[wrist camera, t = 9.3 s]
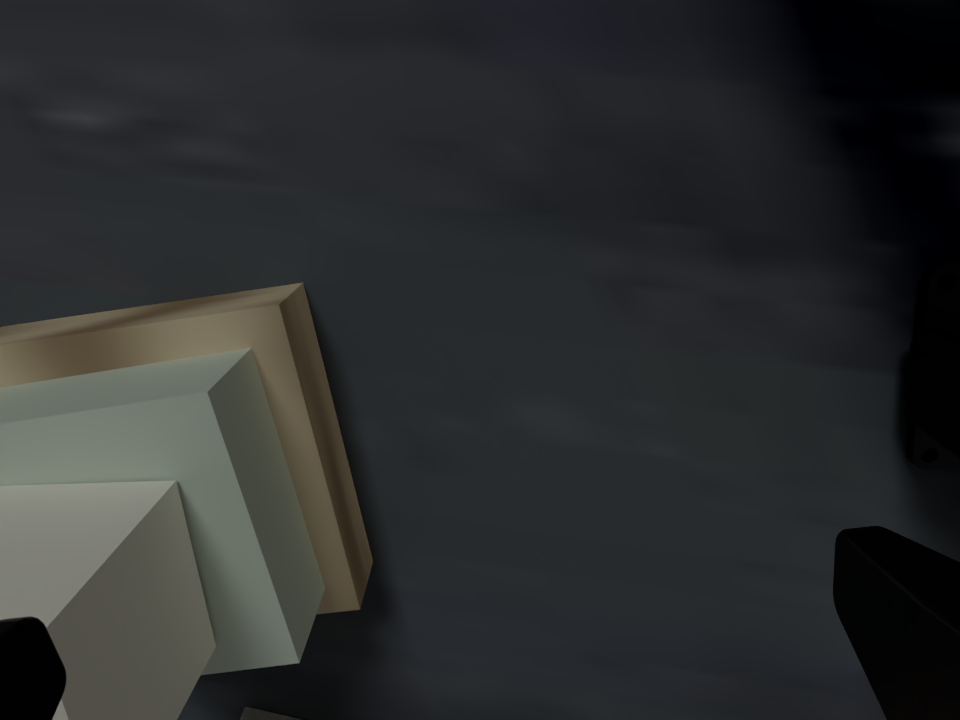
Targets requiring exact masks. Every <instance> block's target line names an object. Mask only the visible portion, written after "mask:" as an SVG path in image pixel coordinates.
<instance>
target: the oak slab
mask: <svg viewBox="0 0 960 720" xmlns="http://www.w3.org/2000/svg"><path fill="white" fill-rule="evenodd" d="M247 348H252V351H253V355H254V358H255V361H256V364H257V368H258V371H259V374H260V377H261V381H262V384H263V387H264V390H265V394H266V397H267V400H268V403H269V407H270V410H271V413H272V416H273V420H274V423H275V426H276V430H277V433H278V436H279V439H280V443H281V446H282V449H283V452H284V456H285V459H286V462H287V465H288V469H289V472H290V475H291V478H292V482H293V485H294V488H295V491H296V495H297V498H298V501H299V504H300V508H301V511H302V514H303V518H304V521H305V524H306V527H307V531H308V534H309V537H310V540H311V544H312V547H313V550H314V553H315V557H316V560H317V563H318V566H319V570H320V573H321V576H322V579H323V583H324V586H325V590H324V593H323V596H322V599H321V602H320V605H319V608H318V611H317V614H325V613H334V612H343V611H352V610H360V608H361V605H362V601H363V597H364V594H365V590H366V586H367V582H368V579H369V575H370V571H371V567H372V564H373V559H372V555H371V551H370V547H369V543H368V539H367V535H366V531H365V527H364V523H363V519H362V515H361V511H360V507H359V503H358V499H357V495H356V491H355V487H354V483H353V479H352V475H351V471H350V467H349V463H348V459H347V455H346V451H345V447H344V443H343V439H342V436H341V432H340V428H339V424H338V420H337V416H336V412H335V408H334V404H333V400H332V396H331V392H330V388H329V384H328V380H327V376H326V372H325V368H324V364H323V360H322V356H321V352H320V348H319V344H318V340H317V336H316V332H315V328H314V324H313V320H312V316H311V312H310V308H309V304H308V300H307V296H306V292H305V288H304V284H303V283H298V284H291V285H284V286H277V287H270V288H264V289H257V290H250V291H243V292H236V293H229V294H223V295H216V296H209V297H202V298H195V299H188V300H181V301H175V302H168V303H161V304H154V305H147V306H140V307H134V308H127V309H120V310H113V311H106V312H99V313H93V314H86V315H79V316H72V317H65V318H58V319H51V320H45V321H38V322H31V323H24V324H17V325H10V326H4V327H0V388H1V387H7V386H13V385H20V384H26V383H32V382H38V381H45V380H51V379H57V378H63V377H70V376H76V375H82V374H89V373H95V372H101V371H107V370H114V369H120V368H126V367H133V366H139V365H145V364H152V363H158V362H164V361H171V360H177V359H183V358H190V357H196V356H203V355H209V354H215V353H222V352H228V351H234V350H241V349H247Z"/></svg>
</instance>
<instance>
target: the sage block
mask: <svg viewBox="0 0 960 720" xmlns="http://www.w3.org/2000/svg"><path fill="white" fill-rule="evenodd" d="M142 481H176V482H177V486H178V490H179V494H180V499H181V503H182V507H183V511H184V515H185V519H186V524H187V528H188V532H189V536H190V540H191V544H192V548H193V553H194V557H195V561H196V565H197V569H198V573H199V578H200V582H201V586H202V590H203V594H204V598H205V602H206V607H207V611H208V615H209V619H210V623H211V627H212V631H213V636H214V640H215V644H216V647H215V649H214V651H213V653H212V655H211V657H210V659H209V661H208V662H207V664H206V666H205V668H204V670H203V672H202V674H201V675H207V674H215V673H223V672H231V671H239V670H247V669H256V668H264V667H272V666H280V665H288V664H296V663H300V660H301V657H302V654H303V652H304V649H305V646H306V643H307V640H308V637H309V634H310V631H311V628H312V625H313V622H314V620H315V617H316V614H317V611H318V608H319V605H320V602H321V599H322V596H323V593H324V590H325V586H324V583H323V579H322V576H321V573H320V570H319V566H318V563H317V560H316V557H315V553H314V550H313V547H312V544H311V540H310V537H309V534H308V531H307V527H306V524H305V521H304V518H303V514H302V511H301V508H300V504H299V501H298V498H297V495H296V491H295V488H294V485H293V482H292V478H291V475H290V472H289V469H288V465H287V462H286V459H285V456H284V452H283V449H282V446H281V443H280V439H279V436H278V433H277V430H276V426H275V423H274V420H273V416H272V413H271V410H270V407H269V403H268V400H267V397H266V394H265V390H264V387H263V384H262V381H261V377H260V374H259V371H258V368H257V364H256V361H255V358H254V355H253V351H252V348H247V349H241V350H234V351H228V352H222V353H215V354H209V355H203V356H196V357H190V358H183V359H177V360H171V361H164V362H158V363H152V364H145V365H139V366H133V367H126V368H120V369H114V370H107V371H101V372H95V373H89V374H82V375H76V376H70V377H63V378H57V379H51V380H45V381H38V382H32V383H26V384H20V385H13V386H7V387H1V388H0V486H9V485H42V484H76V483H109V482H142Z"/></svg>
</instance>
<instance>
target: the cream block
mask: <svg viewBox="0 0 960 720" xmlns="http://www.w3.org/2000/svg"><path fill="white" fill-rule="evenodd" d="M27 616H32V617H36V618H38V619H40V620H41V621H42V622H43V623H44V624H45V626H46V628H47V630H48V632H49V634H50V637H51V639H52V641H53V643H54V645H55V647H56V649H57V651H58V654H59V656H60V658H61V660H62V662H63V664H64V667H65V669H66V676H67V677H66V686H65V691H64V693H63V696H62V698H61V701H60V703H59V705H58V707H57V710H56V712H55V714H54V717H53V719H52V720H177V719H178V717H179V715H180V713H181V711H182V709H183V707H184V706H185V704H186V702H187V700H188V698H189V696H190V694H191V692H192V691H193V689H194V687H195V685H196V683H197V681H198V679H199V677H200V676H201V674H202V672H203V670H204V668H205V666H206V664H207V662H208V661H209V659H210V657H211V655H212V653H213V651H214V649H215V647H216V644H215V640H214V636H213V631H212V627H211V623H210V619H209V615H208V611H207V607H206V602H205V598H204V594H203V590H202V586H201V582H200V578H199V573H198V569H197V565H196V561H195V557H194V553H193V548H192V544H191V540H190V536H189V532H188V528H187V524H186V519H185V515H184V511H183V507H182V503H181V499H180V494H179V490H178V486H177V482H176V481H142V482H109V483H76V484H42V485H9V486H0V620H2V619H8V618H18V617H27Z"/></svg>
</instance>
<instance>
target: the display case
mask: <svg viewBox="0 0 960 720" xmlns="http://www.w3.org/2000/svg"><path fill="white" fill-rule="evenodd" d="M240 720H303V719H298V718H294V717H289V716H285V715H281V714H276V713H272V712H267V711H263V710H259V709H254V708H250V707H245V708H244V711H243V713H242V715H241V718H240Z"/></svg>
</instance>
